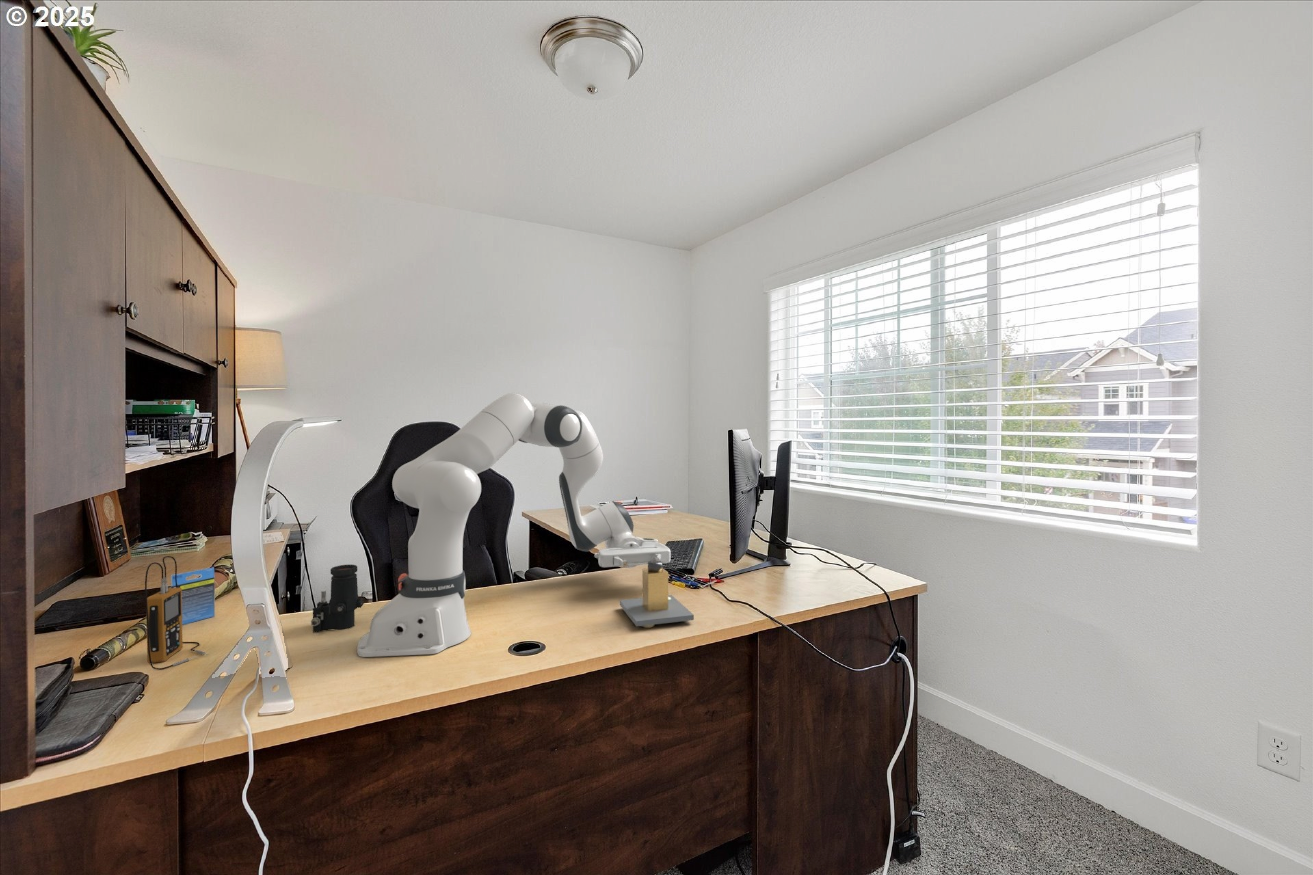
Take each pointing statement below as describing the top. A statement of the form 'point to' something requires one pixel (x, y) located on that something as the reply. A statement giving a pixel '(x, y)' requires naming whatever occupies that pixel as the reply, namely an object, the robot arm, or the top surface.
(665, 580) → the block with dome knob
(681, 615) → the base
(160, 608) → the multimeter
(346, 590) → the scope
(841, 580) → the top surface
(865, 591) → the top surface
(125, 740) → the top surface
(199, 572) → the label tape box
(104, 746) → the top surface
